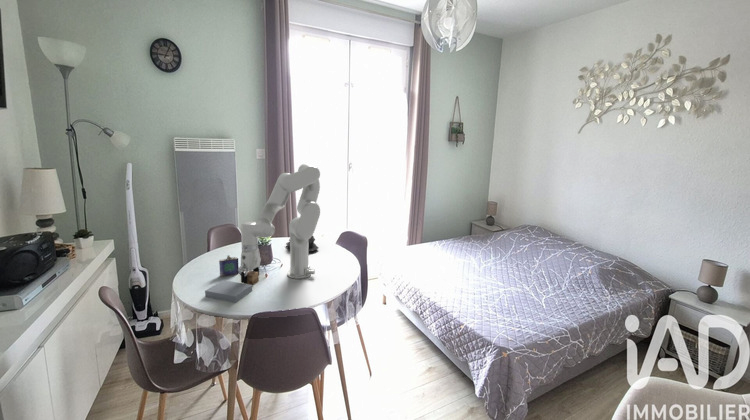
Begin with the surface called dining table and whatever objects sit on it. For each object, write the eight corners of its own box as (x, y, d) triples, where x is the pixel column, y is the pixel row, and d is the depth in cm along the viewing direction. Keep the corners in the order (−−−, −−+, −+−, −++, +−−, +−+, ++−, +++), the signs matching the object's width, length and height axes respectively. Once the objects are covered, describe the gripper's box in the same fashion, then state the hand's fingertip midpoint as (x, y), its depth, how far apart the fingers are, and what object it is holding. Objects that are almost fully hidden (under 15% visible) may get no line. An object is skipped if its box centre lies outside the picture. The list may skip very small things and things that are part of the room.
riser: (252, 290, 154) (252, 284, 154) (235, 302, 143) (235, 296, 142) (223, 285, 158) (223, 280, 157) (205, 296, 147) (205, 290, 146)
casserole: (325, 250, 216) (325, 238, 214) (302, 256, 202) (302, 243, 200) (301, 241, 231) (301, 230, 230) (279, 247, 217) (279, 235, 216)
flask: (220, 277, 167) (219, 257, 165) (219, 275, 170) (218, 255, 168) (239, 274, 172) (238, 255, 170) (238, 272, 174) (237, 253, 172)
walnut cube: (258, 281, 165) (258, 272, 164) (252, 285, 160) (252, 275, 159) (250, 279, 166) (249, 270, 165) (244, 283, 162) (243, 274, 160)
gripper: (245, 253, 150) (246, 287, 154) (266, 242, 167) (266, 273, 170) (231, 251, 152) (232, 284, 155) (253, 241, 168) (254, 271, 172)
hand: (250, 279), depth 163 cm, fingers open, 9 cm apart
